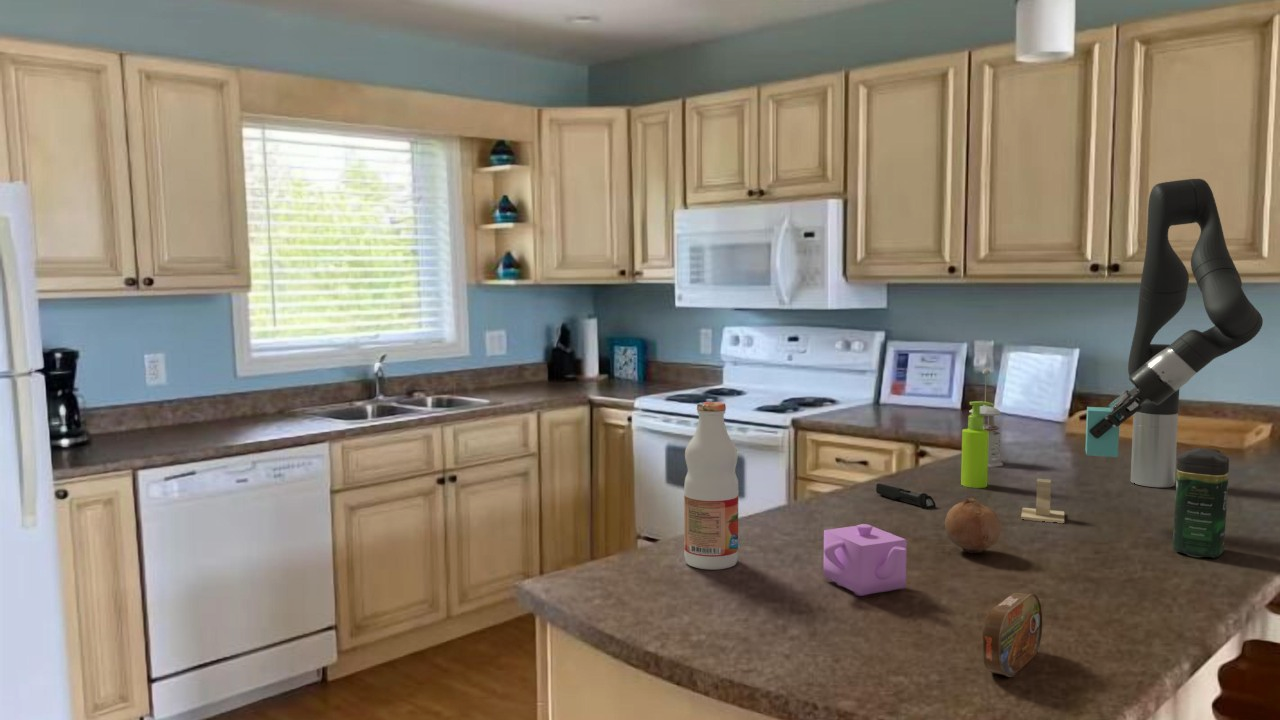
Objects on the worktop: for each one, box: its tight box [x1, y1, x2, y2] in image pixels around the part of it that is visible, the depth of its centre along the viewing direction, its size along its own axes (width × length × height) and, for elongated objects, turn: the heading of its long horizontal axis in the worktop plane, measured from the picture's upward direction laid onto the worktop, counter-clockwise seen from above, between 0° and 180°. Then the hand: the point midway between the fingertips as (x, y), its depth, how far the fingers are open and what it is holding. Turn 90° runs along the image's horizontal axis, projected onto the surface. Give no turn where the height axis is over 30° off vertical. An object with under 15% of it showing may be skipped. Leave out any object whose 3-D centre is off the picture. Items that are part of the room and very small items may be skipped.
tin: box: [981, 592, 1043, 678], centre depth 119 cm, size 15×3×8 cm, turn 138°
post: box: [1020, 478, 1065, 524], centre depth 190 cm, size 8×8×8 cm
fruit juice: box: [683, 401, 739, 571], centre depth 160 cm, size 9×9×28 cm
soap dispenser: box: [960, 400, 995, 489], centre depth 219 cm, size 6×7×20 cm
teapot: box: [822, 523, 908, 597], centre depth 147 cm, size 18×14×10 cm
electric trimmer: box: [875, 482, 936, 510], centre depth 205 cm, size 4×16×3 cm, turn 31°
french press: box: [968, 368, 1004, 468], centre depth 245 cm, size 10×12×25 cm
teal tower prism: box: [1085, 406, 1120, 458], centre depth 186 cm, size 6×6×9 cm
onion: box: [944, 497, 1002, 554], centre depth 166 cm, size 10×9×10 cm
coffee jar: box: [1172, 447, 1230, 558], centre depth 165 cm, size 10×8×19 cm
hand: (1092, 432), depth 186 cm, fingers closed on teal tower prism, 5 cm apart
